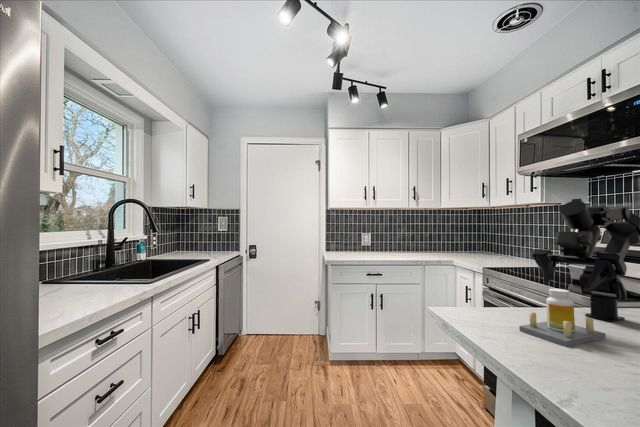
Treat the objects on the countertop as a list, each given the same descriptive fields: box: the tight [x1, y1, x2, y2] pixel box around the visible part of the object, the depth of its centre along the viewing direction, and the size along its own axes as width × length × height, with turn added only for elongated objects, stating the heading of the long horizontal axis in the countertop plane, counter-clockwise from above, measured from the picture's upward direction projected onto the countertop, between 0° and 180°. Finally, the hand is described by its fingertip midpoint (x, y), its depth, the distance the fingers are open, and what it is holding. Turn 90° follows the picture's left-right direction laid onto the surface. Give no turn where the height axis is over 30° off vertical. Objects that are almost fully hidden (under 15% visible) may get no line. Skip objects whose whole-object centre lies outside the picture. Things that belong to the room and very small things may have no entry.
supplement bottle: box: [545, 288, 576, 332], centre depth 75 cm, size 5×5×10 cm
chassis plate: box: [518, 311, 607, 348], centre depth 75 cm, size 14×11×5 cm
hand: (565, 285), depth 77 cm, fingers open, 9 cm apart
